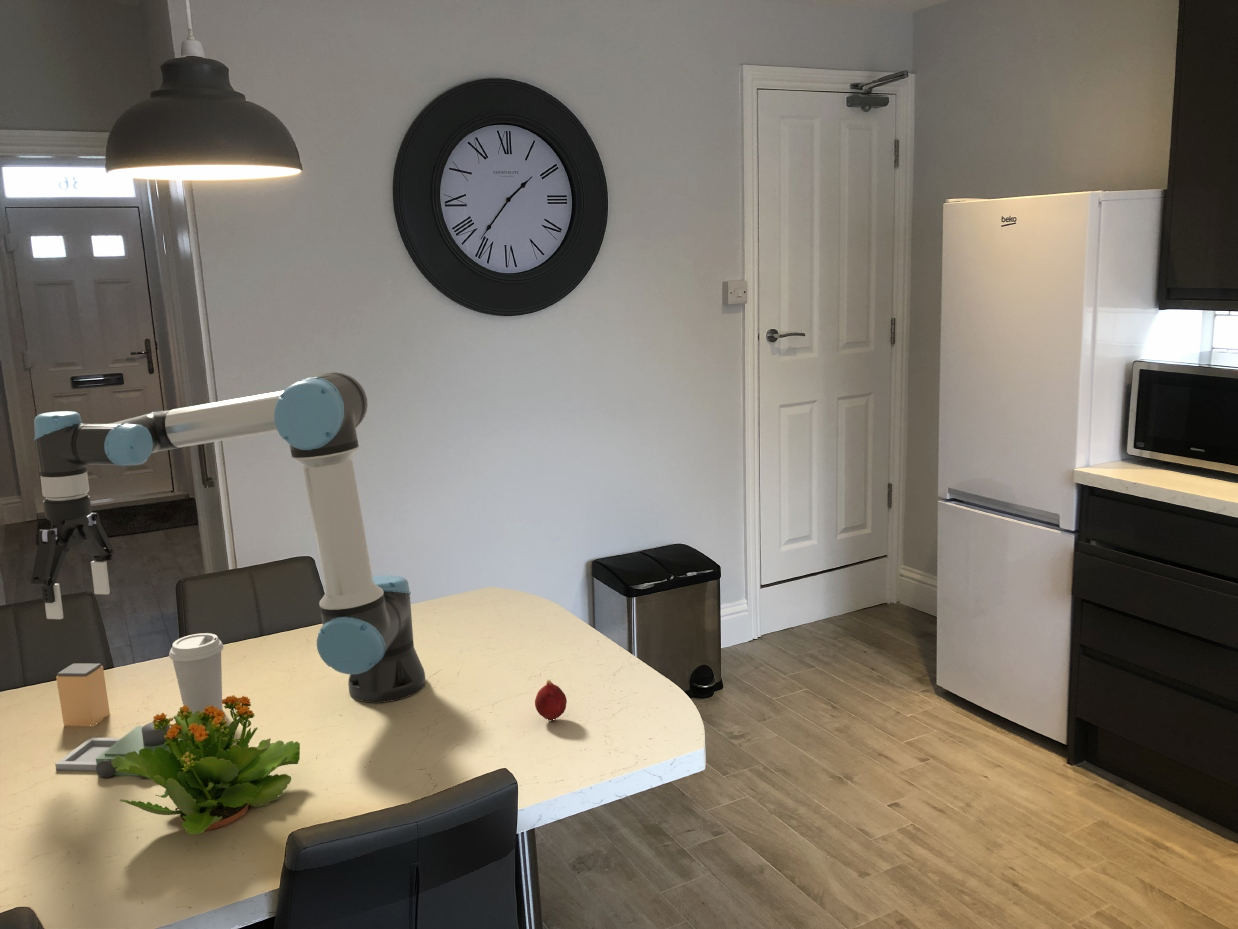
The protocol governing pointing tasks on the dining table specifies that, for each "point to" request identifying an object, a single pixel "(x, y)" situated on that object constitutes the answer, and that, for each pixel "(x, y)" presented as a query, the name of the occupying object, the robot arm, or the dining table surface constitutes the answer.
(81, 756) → the wheeled tray
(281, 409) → the robot arm
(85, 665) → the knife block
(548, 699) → the onion
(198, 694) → the coffee cup
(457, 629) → the dining table surface
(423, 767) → the dining table surface
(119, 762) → the potted flower
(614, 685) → the dining table surface
